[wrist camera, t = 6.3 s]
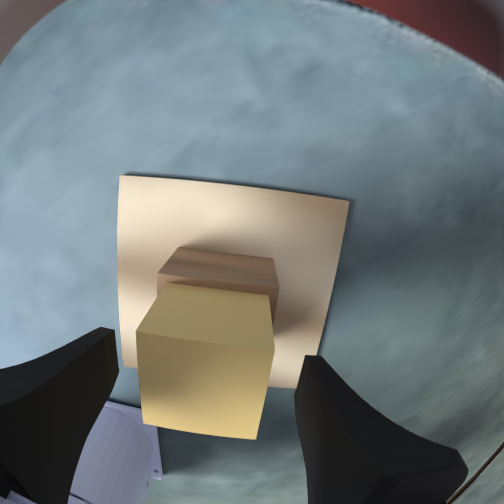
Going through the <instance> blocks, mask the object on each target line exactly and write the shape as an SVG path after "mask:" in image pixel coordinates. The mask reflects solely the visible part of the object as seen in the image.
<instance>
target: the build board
mask: <svg viewBox="0 0 504 504" xmlns="http://www.w3.org/2000/svg"><path fill="white" fill-rule="evenodd" d="M348 207H349V201H347V200H341V199H335V198H329V197H323V196H316V195H310V194H303V193H296V192H289V191H281V190H274V189H266V188H258V187H250V186H242V185H233V184H224V183H214V182H205V181H194V180H183V179H172V178H159V177H146V176H131V175H120V182H119V199H118V229H117V271H118V301H119V318H120V332H121V344H122V355H123V364H124V366H127V367H131V368H136V369H138V364H137V349H136V329H137V328H138V326H139V324H140V323H141V321H142V320H143V318H144V317H145V315H146V313H147V312H148V310H149V309H150V307H151V306H152V304H153V303H154V301H155V299H156V298H157V273H158V272H159V270H160V269H161V268H162V267H163V265H164V264H165V263H166V262H167V260H168V259H169V258H170V257H171V255H172V254H173V253H174V252H175V250H176V249H177V248H178V247H181V248H190V249H198V250H207V251H215V252H223V253H232V254H240V255H249V256H257V257H266V258H273V259H274V264H275V269H276V273H277V278H278V283H279V294H278V300H277V306H276V312H275V318H274V323H273V336H274V345H275V353H274V358H273V363H272V368H271V372H270V377H269V382H268V387H279V388H297V384H298V380H299V376H300V373H301V369H302V365H303V361H304V357H305V355H316V354H317V350H318V347H319V343H320V339H321V335H322V331H323V327H324V323H325V319H326V315H327V311H328V306H329V302H330V298H331V293H332V289H333V284H334V280H335V275H336V270H337V266H338V261H339V256H340V251H341V246H342V241H343V235H344V230H345V225H346V219H347V213H348Z"/></svg>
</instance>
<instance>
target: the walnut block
mask: <svg viewBox="0 0 504 504" xmlns="http://www.w3.org/2000/svg"><path fill="white" fill-rule="evenodd" d="M167 282H168V283H175V284H182V285H189V286H197V287H204V288H212V289H219V290H227V291H235V292H243V293H252V294H260V295H269V301H270V310H271V319H272V328H273V323H274V318H275V312H276V306H277V300H278V294H279V283H278V278H277V273H276V269H275V264H274V259H273V258H266V257H257V256H249V255H240V254H232V253H223V252H215V251H207V250H198V249H190V248H181V247H178V248H177V249H176V250H175V252H174V253H173V254H172V255H171V257H170V258H169V259H168V260H167V262H166V263H165V264H164V265H163V267H162V268H161V269H160V270H159V272H158V273H157V296H158V295H159V293H160V292H161V290H162V289H163V287H164V286H165V284H166V283H167Z"/></svg>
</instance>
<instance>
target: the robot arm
mask: <svg viewBox="0 0 504 504" xmlns="http://www.w3.org/2000/svg"><path fill="white" fill-rule="evenodd" d="M118 373H119V367H118V358H117V349H116V339H115V330H113V329H108V328H103V327H100V328H97V329H95V330H93V331H91V332H89V333H87V334H85V335H83V336H82V337H80V338H78V339H76V340H74V341H72V342H70V343H68V344H66V345H65V346H63V347H61V348H58V349H56V350H54V351H52V352H50V353H48V354H46V355H43V356H41V357H39V358H36V359H34V360H31V361H28V362H25V363H22V364H19V365H15V366H11V367H7V368H3V369H0V504H144V503H145V500H146V496H147V492H148V488H149V485H150V481H151V478H155V479H162V477H163V471H162V464H161V456H160V448H159V439H158V430H157V426H154V425H149V424H144V423H143V416H142V409H140V408H135V407H131V406H126V405H122V404H118V403H114V402H110V401H107V400H108V398H109V396H110V394H111V392H112V390H113V387H114V385H115V382H116V379H117V376H118ZM294 396H295V414H296V421H297V426H298V431H299V436H300V441H301V446H302V451H303V456H304V461H305V467H306V474H307V489H308V504H446V501H447V500H448V499H449V498H450V497H451V496H452V495H453V494H454V493H455V491H456V490H457V489H458V488H459V487H460V486H461V485H462V484H463V482H464V481H465V479H466V477H467V475H468V468H467V466H466V464H465V462H464V461H463V459H462V457H461V455H460V454H459V452H458V450H456V449H453V448H449V447H446V446H443V445H440V444H437V443H434V442H432V441H429V440H427V439H425V438H422V437H420V436H418V435H416V434H414V433H412V432H410V431H408V430H406V429H404V428H403V427H401V426H399V425H397V424H396V423H394V422H392V421H391V420H389V419H388V418H386V417H385V416H384V415H382V414H381V413H379V412H378V411H377V410H375V409H374V408H373V407H372V406H370V405H369V404H368V403H367V402H366V401H364V400H363V399H362V398H361V397H360V396H359V395H358V394H357V393H356V392H355V391H354V390H352V389H351V388H350V387H349V386H348V385H347V384H346V382H345V381H344V380H343V379H342V378H341V377H340V376H339V375H338V374H337V373H336V372H335V371H334V370H333V368H332V367H331V366H330V365H329V364H328V363H327V362H326V361H325V360H324V358H323V357H322V356H317V355H305V357H304V361H303V365H302V369H301V373H300V376H299V380H298V384H297V388H296V391H295V395H294Z"/></svg>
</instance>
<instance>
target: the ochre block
mask: <svg viewBox="0 0 504 504" xmlns="http://www.w3.org/2000/svg"><path fill="white" fill-rule="evenodd" d="M136 349H137V364H138V377H139V388H140V398H141V407H142V416H143V423H144V424H149V425H154V426H159V427H164V428H169V429H175V430H181V431H187V432H193V433H200V434H207V435H214V436H223V437H232V438H242V439H255V440H256V436H257V432H258V427H259V423H260V419H261V414H262V410H263V405H264V400H265V396H266V391H267V387H268V382H269V377H270V372H271V368H272V363H273V358H274V353H275V345H274V336H273V328H272V319H271V310H270V301H269V295H260V294H252V293H243V292H235V291H227V290H219V289H212V288H204V287H197V286H189V285H182V284H175V283H168V282H167V283H166V284H165V286H164V287H163V289H162V290H161V292H160V293H159V295H158V296H157V298H156V299H155V301H154V303H153V304H152V306H151V307H150V309H149V310H148V312H147V313H146V315H145V317H144V318H143V320H142V321H141V323H140V324H139V326H138V328H137V329H136Z"/></svg>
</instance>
